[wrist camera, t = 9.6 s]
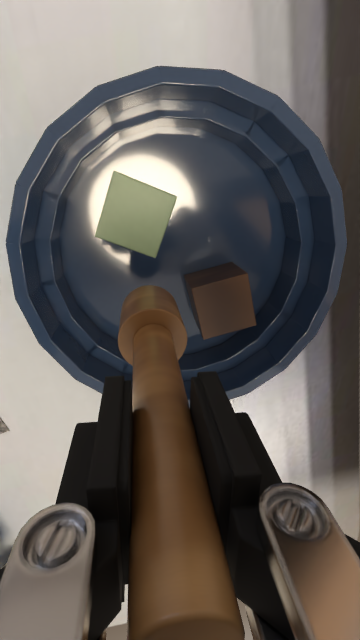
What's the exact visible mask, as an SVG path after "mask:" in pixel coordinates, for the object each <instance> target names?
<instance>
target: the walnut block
mask: <svg viewBox="0 0 360 640" xmlns="http://www.w3.org/2000/svg"><path fill="white" fill-rule="evenodd" d="M184 279H185V283H186V287H187V291H188V295H189V299H190V303H191V307H192V311H193V315H194V319H195V322H196V324H197V326H198V328H199V331H200V333H201V335H202V337H203V339H204V340H205V339H209V338H212V337H216V336H220V335H223V334H227V333H230V332H234V331H237V330H241V329H245V328H248V327H252V326H255V325H256V319H255V313H254V307H253V301H252V295H251V289H250V284H249V278H248V273H247V272H245V271H244V270H243V269H241V268H240V267H239V266H237V265H236V264H234V263H233V262H229V263H226V264H222V265H218V266H215V267H211V268H208V269H204V270H200V271H197V272H193V273H189V274H186V275H184Z"/></svg>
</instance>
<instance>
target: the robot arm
mask: <svg viewBox="0 0 360 640" xmlns="http://www.w3.org/2000/svg"><path fill="white" fill-rule="evenodd" d="M190 412H191V416H192V420H193V424H194V428H195V432H196V436H197V440H198V444H199V448H200V453H201V457H202V461H203V465H204V469H205V473H206V477H207V481H208V485H209V489H210V493H211V497H212V501H213V506H214V510H215V514H216V518H217V522H218V525H219V529H220V533H221V537H222V541H223V546H224V550H225V554H226V558H227V562H228V566H229V570H230V574H231V578H232V582H233V586H234V590H235V594H236V597H237V598H238V599H239V600H241V601H242V602H243V603H244V604H245V606H246V613H247V617H248V621H249V625H250V628H251V632H252V636H253V640H360V542H358V541H356V540H354V539H353V538H351V537H349V536H347V535H346V534H344V533H343V531H342V530H341V528H340V526H339V525H338V523H337V521H336V520H335V518H334V517H333V515H332V513H331V512H330V510H329V508H328V507H327V506H326V505H325V503H324V502H323V501H322V500H321V498H319V497H318V496H317V495H316V494H314V493H313V492H312V491H310V490H308V489H306V488H304V487H302V486H300V485H296V484H292V483H282V481H281V479H280V477H279V475H278V473H277V471H276V469H275V467H274V465H273V463H272V461H271V459H270V457H269V455H268V453H267V451H266V449H265V447H264V445H263V443H262V441H261V439H260V437H259V435H258V433H257V431H256V429H255V427H254V425H253V423H252V421H251V419H250V417H249V416H248V414H247V413H245V412H244V413H235V412H234V410H233V408H232V406H231V403H230V401H229V399H228V397H227V394H226V392H225V390H224V388H223V385H222V383H221V381H220V379H219V376H218V374H217V372H216V371H210V372H198V373H197V377H191V390H190ZM132 428H133V406H132V383H131V380H125V379H124V376H106V377H105V382H104V387H103V393H102V399H101V405H100V411H99V417H98V422H89V423H78V424H77V425H76V427H75V431H74V435H73V438H72V442H71V446H70V450H69V454H68V458H67V462H66V465H65V469H64V473H63V477H62V481H61V485H60V489H59V492H58V496H57V500H56V504H55V505H52V506H49V507H47V508H45V509H43V510H41V511H39V512H38V513H37V514H35V515H34V516H33V517H31V518H30V519H29V520H28V521H27V523H26V524H25V525H24V526H23V527H22V528H21V530H20V532H19V534H18V536H17V538H16V540H15V542H14V545H13V548H12V550H11V553H10V556H9V559H8V562H7V564H6V565H5V566H4V567H3V568H2V569H1V570H0V640H106V628H107V627H108V625H109V624H110V623H111V622H112V620H113V619H114V618H115V617H116V615H117V614H118V613H119V612H120V610H121V602H124V590H125V584H128V573H129V538H130V535H131V487H132Z"/></svg>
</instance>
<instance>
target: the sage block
mask: <svg viewBox="0 0 360 640" xmlns="http://www.w3.org/2000/svg"><path fill="white" fill-rule="evenodd" d="M176 200H177V196H175V195H172V194H170V193H167V192H165V191H163V190H160V189H158V188H155V187H153V186H150V185H148V184H146V183H143V182H141V181H138V180H136V179H133V178H131V177H128V176H126V175H124V174H121V173H119V172H116V171H113V174H112V178H111V181H110V185H109V188H108V192H107V195H106V199H105V202H104V205H103V209H102V212H101V216H100V219H99V223H98V226H97V230H96V233H95V237H97V238H100V239H103V240H106V241H108V242H111V243H114V244H117V245H119V246H122V247H125V248H128V249H131V250H133V251H136V252H139V253H142V254H145V255H147V256H150V257H153V258H156V256H157V253H158V250H159V248H160V245H161V242H162V239H163V236H164V233H165V231H166V228H167V225H168V222H169V219H170V217H171V214H172V211H173V208H174V205H175V202H176Z"/></svg>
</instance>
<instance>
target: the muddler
mask: <svg viewBox="0 0 360 640" xmlns="http://www.w3.org/2000/svg"><path fill="white" fill-rule="evenodd" d="M186 345H187V332H186V329H185V326H184V323H183V321H182V318H181V315H180V312H179V309H178V307H177V304H176V301H175V299H174V298H173V296H172V295H171V294H170V293H169V292H168V291H167V290H165V289H163V288H161V287H158V286H154V285H146V286H141V287H138V288H136V289H135V290H133V291H132V292H130V293H129V294H128V296H127V297H126V298H125V300H124V302H123V305H122V310H121V318H120V326H119V333H118V347H119V350H120V352H121V354H122V356H123V358H124V359H125V360H126V361H127V362H128V363H129V364H131V365H132V366H133V382H132V406H133V428H132V487H131V535H130V538H129V573H128V620H127V640H244V638H245V632H244V627H243V623H242V619H241V615H240V610H239V606H238V603H237V598H236V594H235V590H234V586H233V582H232V578H231V574H230V570H229V566H228V562H227V558H226V554H225V550H224V546H223V541H222V537H221V533H220V529H219V525H218V522H217V518H216V514H215V510H214V506H213V501H212V497H211V493H210V489H209V485H208V481H207V477H206V473H205V469H204V465H203V461H202V457H201V453H200V448H199V444H198V440H197V436H196V432H195V428H194V424H193V420H192V416H191V412H190V407H189V403H188V399H187V395H186V391H185V387H184V383H183V379H182V375H181V371H180V367H179V363H178V360H179V359H180V358H181V356H182V355H183V353H184V351H185V349H186Z"/></svg>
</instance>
